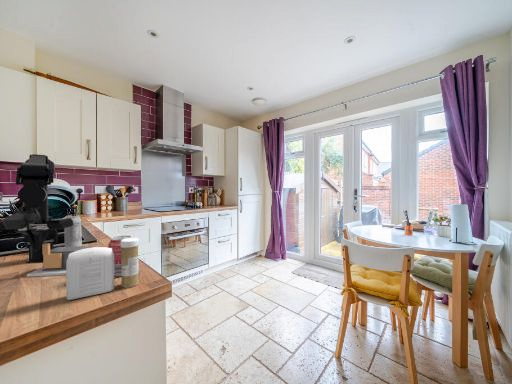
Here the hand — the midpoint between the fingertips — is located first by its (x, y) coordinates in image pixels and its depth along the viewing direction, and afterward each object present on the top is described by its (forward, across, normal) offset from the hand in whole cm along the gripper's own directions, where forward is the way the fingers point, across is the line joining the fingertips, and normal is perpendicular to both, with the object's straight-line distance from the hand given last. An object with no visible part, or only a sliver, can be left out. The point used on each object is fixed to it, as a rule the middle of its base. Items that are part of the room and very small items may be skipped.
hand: (36, 250), depth 70 cm
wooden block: (+6, +4, 0) cm, 8 cm away
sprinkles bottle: (+8, +34, -12) cm, 37 cm away
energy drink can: (+8, -8, +30) cm, 32 cm away
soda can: (+8, +27, -3) cm, 29 cm away
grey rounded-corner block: (+8, +26, -16) cm, 32 cm away
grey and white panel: (+8, +8, +4) cm, 12 cm away
